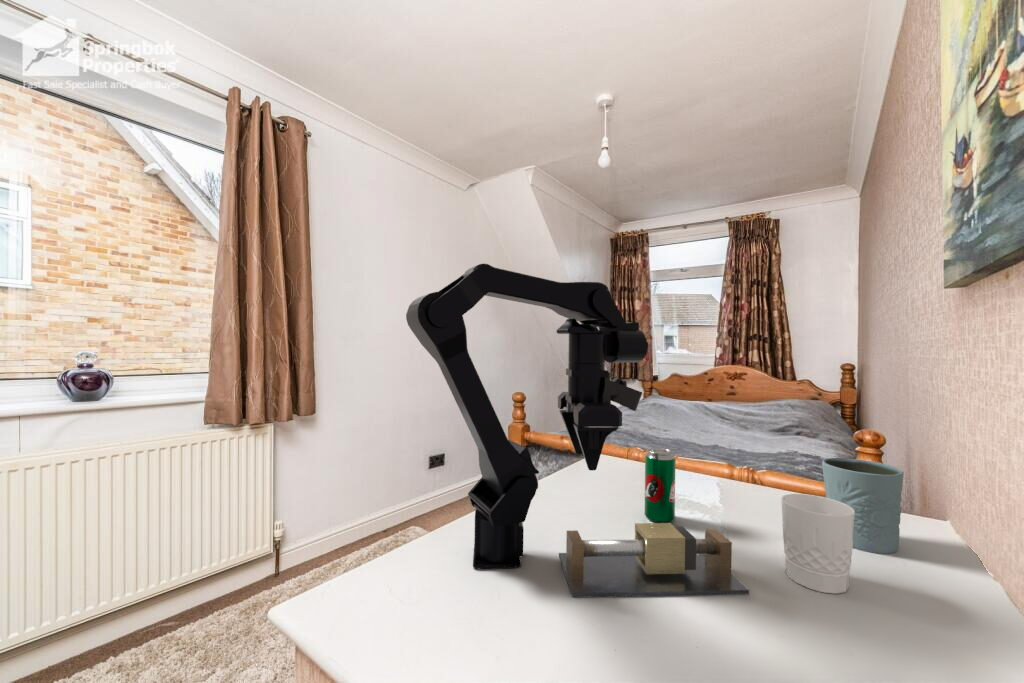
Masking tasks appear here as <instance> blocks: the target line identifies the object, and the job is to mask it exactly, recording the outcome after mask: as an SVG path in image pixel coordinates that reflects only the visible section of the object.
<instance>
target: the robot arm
mask: <svg viewBox="0 0 1024 683" xmlns="http://www.w3.org/2000/svg"><path fill="white" fill-rule="evenodd" d="M486 296H487V297H492V298H496V299H501V300H506V301H512V302H517V303H522V304H527V305H531V306H538V307H542V308H546V309H549V310H552V311H553V313H555V314H557V315H559V316H562V317H564V318H565V319H566V320H565V321H564V322H563V324H562V325H561V326H559V327H558V328H557V329H556V333H557V334H558V335H568V358H567V360H568V366H567V368H565V375H566V376H567V377H568V379H567V380H568V381H567V384H568V385H567V391H562V392H561V393H560V394H559V395H558V396H557V408H558V409H559V411H558V412H559V414H560V416H561V418H562V421H563V424H564V426H565V428H566V432H567V434H568V435H569V439H570V442H571V444H572V446H573V449H574V452H575V454H576V455H583V458H584V460H585V464H586V467H587V469H588V471H596V470H597V469H598V465H599V462H600V458H601V455H602V451H603V447H604V445H605V442H606V439H607V437H609V436H610V435H611V434H612V433H613V432H616V431H618V429H619V427H622V426H623V412H622V410H620V408H619V407H618V406H617V405H614V404H613V403H616V404H619V405H620V406H623V407H625V408H627V409H629V410H630V411H634V412H637V409H638V406H639V402H640V400H641V398H642V395H643V392H641V391H640V390H637V389H634V388H632V387H629V386H628V383H627V381H626V380H625V379H621V378H620V377H614V378H613V379H612V380H611V372H609V370H607V369H606V362H607V363H608V364H609V363H610V364H612V363H615V364H616V363H618V364H620V363H622V364H624V363H633V364H634V363H640V362H642V361H643V360H644V359H645V358H646V356H647V354H648V351H649V342H648V340H647V336H646V335H645V333H644V332H643V331H642V330H640V322H638V321H636V322H635V321H634V322H633V321H631V322H626V321H625V319H624V317H623V315H622V314H621V312H620V310H619V308H618V306H617V304H616V302H615V301H614V299H613V297H612V295H611V292H610V290H609V287H608V286H607V285H606V284H605V283H603V282H599V281H596V282H595V281H573V282H572V281H571V282H564V281H563V282H560V281H556V280H551V279H547V278H542V277H538V276H534V275H530V274H525V273H520V272H516V271H512V270H508V269H503V268H498V267H494V266H493V265H490V264H489V263H480V264H478V265H475V266H472V267H470V268H468V269H467V270H465V271H464V273H463V274H462V275H461V276H459V277H458V278H456V279H455V280H453V281H452V282H451V283H449V284H447V285H445V286H444V287H443V288H442V289H440V290H438V291H434V292H430V293H428V294H425V295H421V296H418V297H417V298H415V299H414V300H412V302H411V303H410V304H409V306H408V308H407V311H406V314H405V320H406V322H407V325H408V327H409V329H410V330H411V332H412V333H413V334H414V336H415V337H416V339H417V340H418V342H419V343H420V344H421V346H422V347H423V348H424V349H425V350H426V351H427V352H428V354H429V355H430V356H431V358H433V359H434V361H436V363H437V364H438V367H439V369H440V371H441V372H442V375H443V377H444V380H445V381H446V383H447V384H446V385H447V386H448V388H449V390H450V392H451V394H452V396H453V398H454V401H455V404H456V405H457V407H458V409H459V411H460V413H461V415H462V418H463V420H464V421H465V423H466V426H467V428H468V430H469V433H470V434H471V436H472V438H473V441H474V443H475V445H476V447H477V449H478V465H479V466H478V467H479V470H480V473H481V477H480V478H479V480H478V481H477V482H476V483H475V485H474V486H473V487H472V488H471V489H470V490H469V491H468V493H467V496H468V499H469V502H470V505H471V506H472V507H473V508H475V512H474V540H473V541H474V544H473V556H472V557H473V558H472V568H474V569H487V568H488V569H494V568H495V569H497V568H499V569H500V568H503V569H504V568H520V567H521V564H522V563H521V557H523V556H524V531H525V530H524V524H523V523H524V522H526V519H527V515H528V512H529V510H530V506H531V503H532V500H533V499H534V497H535V496H536V493H537V489H538V488H539V481H538V478H537V475H538V474H540V471H539V470H538V469H537V468H536V467H535V465H534V464H533V460H532V457H531V454H530V450H529V449H528V448H527V447H526V446H523V445H522V444H519V443H516V442H515V441H513V440H510V439H508V437H507V435H506V433H505V431H504V429H503V428H504V427H503V425H502V423H501V422H500V419H499V417H498V415H497V413H496V410H495V409H494V407H493V404H492V402H491V400H490V397H489V396H488V393H487V391H486V388H485V387H484V384H483V382H482V380H481V378H480V375H479V373H478V371H477V369H476V366H475V365H474V363H473V360H472V358H471V355H470V353H469V350H468V339H467V337H468V336H467V328H466V327H467V326H466V325H465V324H466V323H465V320H464V316H463V315H465V314H466V313H467V312H469V311H470V310H471V309H473V308H474V307H475V306H476V305H477V304H478V303H479V302H480V301H481V300H482V299H483V298H484V297H486ZM611 402H613V403H611Z"/></svg>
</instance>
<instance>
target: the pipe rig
mask: <svg viewBox="0 0 1024 683" xmlns="http://www.w3.org/2000/svg"><path fill="white" fill-rule="evenodd" d="M565 542H566V543H565V544H566V547H565V548H566V549H565V550H566V551H565V552H558V557H559V560H560V564H561V566H562V570H563V572H564V573H563V574H564V576H565V578H566V579H565V580H566V582H567V584H568V588H569V590H570V595H571V597H572V598H598V597H599V598H600V597H601V598H605V597H607V598H609V597H612V598H613V597H649V596H650V597H660V596H661V597H663V596H664V597H665V596H713V595H715V596H717V595H719V596H720V595H721V596H722V595H723V596H724V595H726V596H727V595H749V593H750V590H749V588H748V587H746V585H744V583H742V582H741V581H740V580H739V579H738V577H736V576H735V575H734V574H733V573H732V557H733V554H732V551H733V550H732V548H733V546H732V545H733V543H732V541H731V540H729V539H728V538H727V537H726V536H725V535H723V534H722V533H721V532H719V531H718V530H717V529H715V528H714V529H713V528H711V529H710V528H709V529H707V528H705V530H704V538H696V570H685V574H646V572H645V571H644V569H643V568H642V567H641V565H640V564H639V562H638V561H637V559H636V558H635V556H645V540H644V539H640V540H635V539H582V536H581V535H580V533H579V531H578V530H566V541H565Z"/></svg>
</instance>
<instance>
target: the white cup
mask: <svg viewBox="0 0 1024 683" xmlns="http://www.w3.org/2000/svg"><path fill="white" fill-rule="evenodd" d="M781 516H782V518H781V519H782V520H781V521H782V539H783V552H784V554H785V555H784V561H785V564H784V565H785V572H786V574H787V576H788V577H789V578H790V579H791V581H793V582H795V583H796V584H798V585H800V586H802V587H804V588H807V589H810V590H813V591H816V592H820V593H825V594H826V593H827V594H832V595H833V594H834V595H835V594H836V595H837V594H838V595H839V594H841V593H842V594H843V593H846V592H847V590H848V589H849V585H850V572H851V571H850V570H851V566H852V556H853V549H854V548H853V532H854V517H855V511H854V509H853V508H852V507H850V506H848V505H846V504H844V503H842V502H839V501H836V500H833V499H829V498H826V496H821V495H813V494H807V493H806V494H805V493H789V494H784V495H782V496H781Z"/></svg>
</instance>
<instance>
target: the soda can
mask: <svg viewBox="0 0 1024 683" xmlns="http://www.w3.org/2000/svg"><path fill="white" fill-rule="evenodd" d="M644 456H645V457H644V516H645V518H647V519H648V520H649V521H650V522H651V523H672V522H673V521H674V520H675V518H676V457H675V455H674V451H673V450H671V449H667V448H662V447H661V448H659V447H650V448H648V449H647V452H646V454H645V455H644Z"/></svg>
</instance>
